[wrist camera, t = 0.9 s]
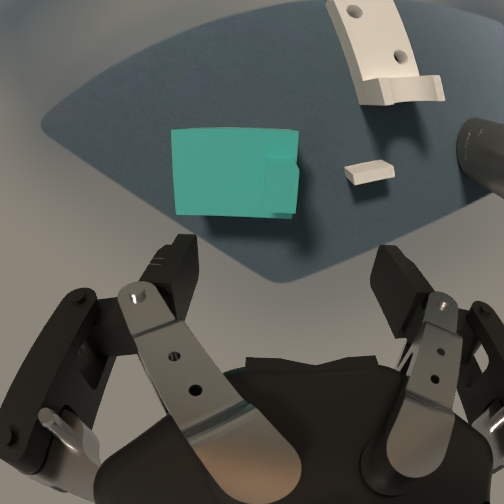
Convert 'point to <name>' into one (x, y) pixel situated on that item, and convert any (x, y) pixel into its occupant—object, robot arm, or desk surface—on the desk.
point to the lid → (235, 172)
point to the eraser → (369, 172)
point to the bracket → (380, 53)
